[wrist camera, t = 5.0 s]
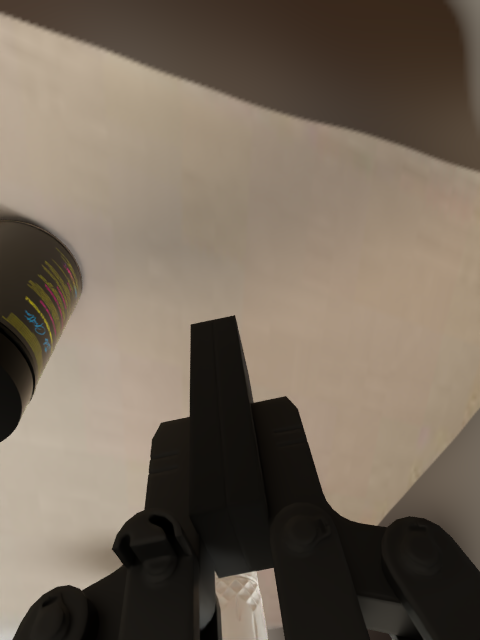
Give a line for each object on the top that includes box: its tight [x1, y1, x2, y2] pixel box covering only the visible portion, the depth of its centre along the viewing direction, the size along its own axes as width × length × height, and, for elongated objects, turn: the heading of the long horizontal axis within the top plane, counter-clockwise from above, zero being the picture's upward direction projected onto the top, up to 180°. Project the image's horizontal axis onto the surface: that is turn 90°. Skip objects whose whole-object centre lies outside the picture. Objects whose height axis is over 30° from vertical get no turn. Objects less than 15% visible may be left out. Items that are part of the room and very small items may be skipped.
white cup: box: [215, 571, 268, 640], centre depth 41 cm, size 8×8×10 cm
